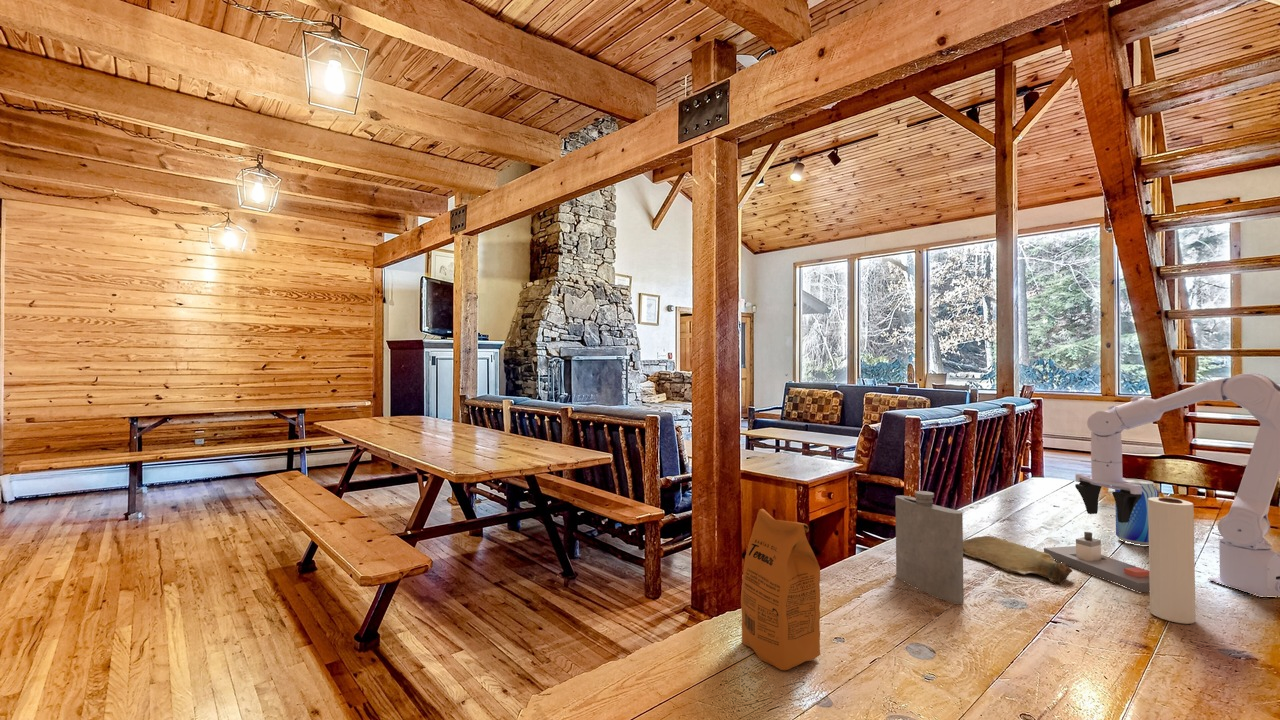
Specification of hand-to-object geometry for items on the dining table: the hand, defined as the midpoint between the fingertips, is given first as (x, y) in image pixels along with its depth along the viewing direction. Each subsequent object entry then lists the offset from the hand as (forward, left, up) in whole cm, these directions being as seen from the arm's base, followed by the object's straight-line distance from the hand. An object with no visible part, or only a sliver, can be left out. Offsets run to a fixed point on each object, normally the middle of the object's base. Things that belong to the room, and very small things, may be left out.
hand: (1107, 517), depth 133 cm
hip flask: (-10, +55, -10) cm, 57 cm away
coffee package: (-29, +95, -10) cm, 100 cm away
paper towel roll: (-29, +19, -10) cm, 36 cm away
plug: (-4, +10, -10) cm, 14 cm away
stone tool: (0, +27, -10) cm, 28 cm away
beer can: (+8, -18, -10) cm, 22 cm away
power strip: (-8, +10, -9) cm, 16 cm away
